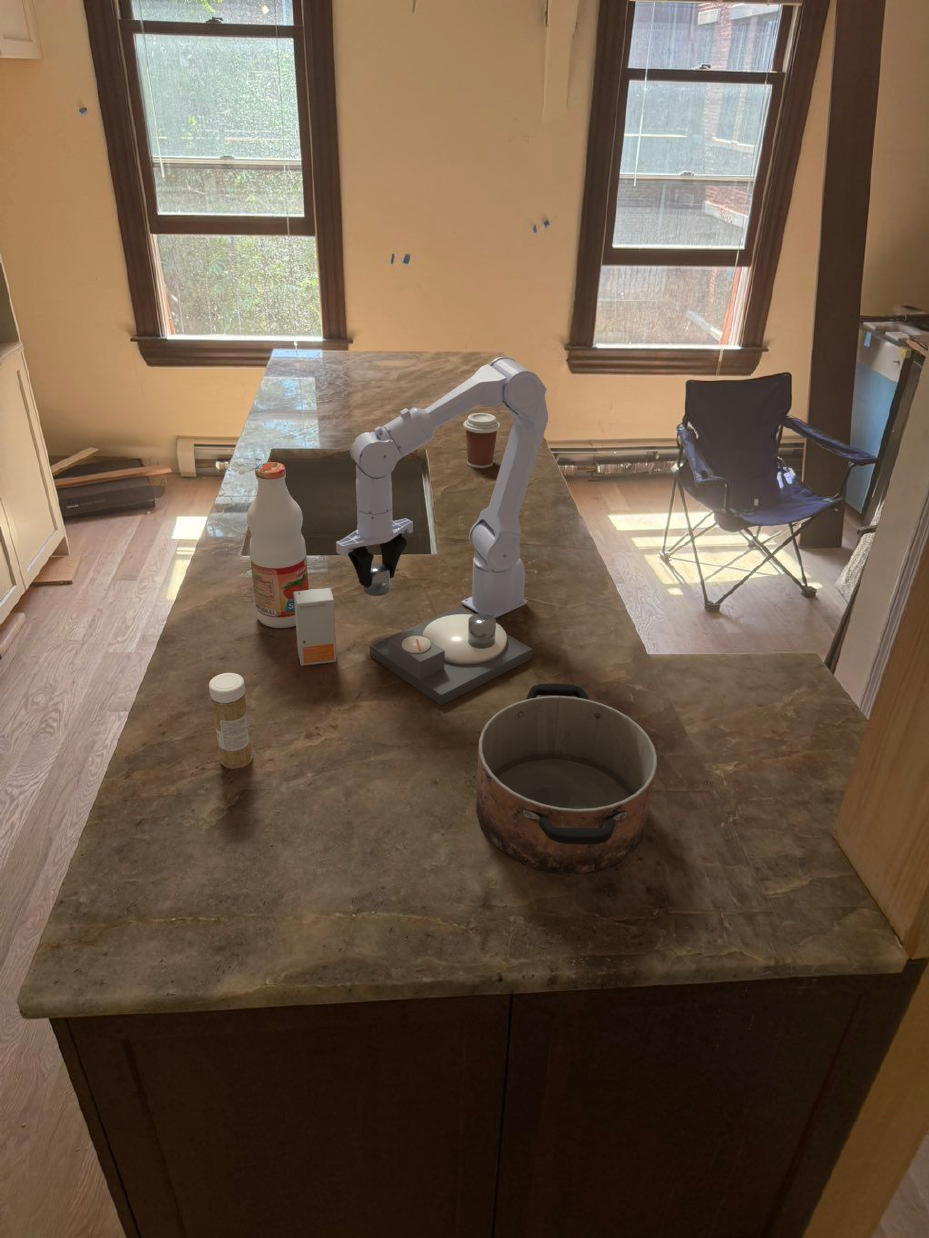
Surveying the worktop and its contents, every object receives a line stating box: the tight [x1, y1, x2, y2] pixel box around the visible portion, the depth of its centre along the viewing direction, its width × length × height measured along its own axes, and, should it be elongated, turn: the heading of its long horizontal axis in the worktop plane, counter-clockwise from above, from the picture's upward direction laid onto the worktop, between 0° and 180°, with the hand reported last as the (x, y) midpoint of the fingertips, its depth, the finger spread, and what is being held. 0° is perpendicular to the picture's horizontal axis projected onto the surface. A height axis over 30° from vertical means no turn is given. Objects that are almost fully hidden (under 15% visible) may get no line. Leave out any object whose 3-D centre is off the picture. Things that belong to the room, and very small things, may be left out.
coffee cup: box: [462, 412, 501, 469], centre depth 218 cm, size 9×9×12 cm
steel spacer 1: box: [363, 562, 391, 597], centre depth 149 cm, size 4×4×4 cm
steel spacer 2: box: [468, 613, 497, 649], centre depth 144 cm, size 4×4×4 cm
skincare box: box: [293, 587, 337, 667], centre depth 142 cm, size 6×4×12 cm
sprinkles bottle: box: [208, 672, 254, 769], centre depth 119 cm, size 5×5×13 cm
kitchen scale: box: [369, 606, 533, 706], centre depth 144 cm, size 20×18×6 cm
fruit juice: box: [246, 461, 310, 629], centre depth 148 cm, size 9×9×28 cm
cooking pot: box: [475, 682, 658, 875], centre depth 113 cm, size 30×22×11 cm
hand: (376, 580), depth 150 cm, fingers closed on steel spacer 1, 4 cm apart
